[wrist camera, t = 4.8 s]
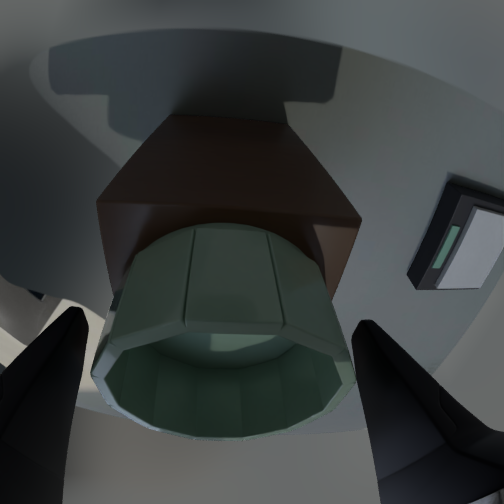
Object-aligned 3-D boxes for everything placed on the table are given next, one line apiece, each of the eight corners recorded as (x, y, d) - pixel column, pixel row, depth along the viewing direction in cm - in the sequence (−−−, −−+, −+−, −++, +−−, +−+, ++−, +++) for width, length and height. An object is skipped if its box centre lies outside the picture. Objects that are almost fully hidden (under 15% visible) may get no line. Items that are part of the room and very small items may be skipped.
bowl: (107, 212, 8) (56, 305, 5) (349, 228, 8) (400, 319, 6) (137, 357, 11) (125, 432, 9) (297, 363, 12) (311, 436, 10)
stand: (169, 114, 17) (94, 200, 7) (288, 124, 18) (364, 219, 8) (167, 217, 21) (130, 360, 12) (270, 224, 22) (303, 367, 13)
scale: (447, 182, 21) (466, 197, 19) (506, 200, 22) (523, 215, 20) (406, 274, 27) (418, 294, 24) (468, 276, 28) (481, 292, 26)
